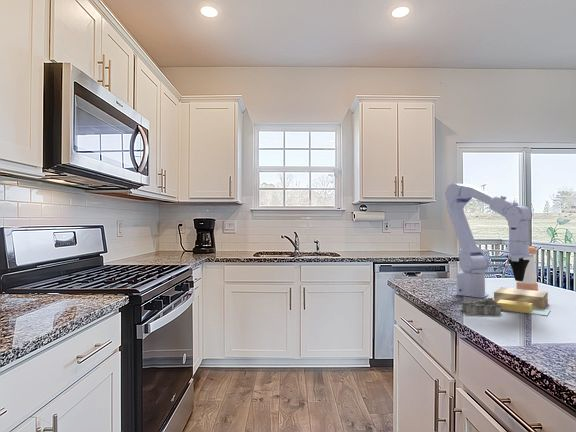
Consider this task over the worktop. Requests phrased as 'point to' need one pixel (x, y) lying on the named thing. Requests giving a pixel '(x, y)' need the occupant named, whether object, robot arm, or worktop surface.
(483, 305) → the egg carton
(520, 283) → the salt shaker
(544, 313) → the mat
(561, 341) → the worktop surface
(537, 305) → the tan flat block
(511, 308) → the yellow rectangular block
